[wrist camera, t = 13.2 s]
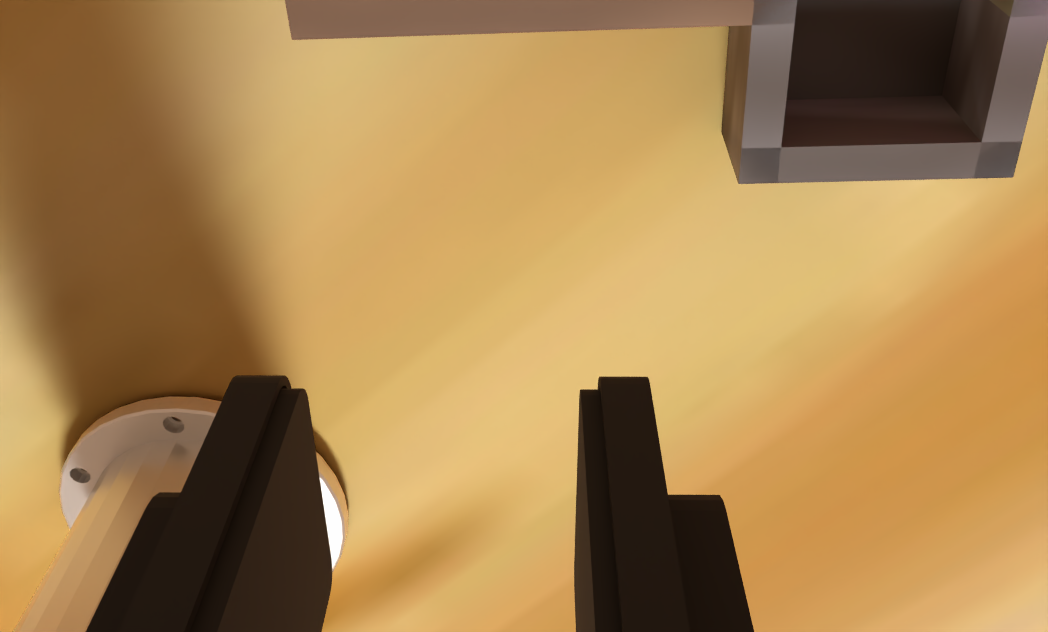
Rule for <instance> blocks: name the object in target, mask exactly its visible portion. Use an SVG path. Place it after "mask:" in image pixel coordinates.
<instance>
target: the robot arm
mask: <svg viewBox="0 0 1048 632" xmlns="http://www.w3.org/2000/svg"><path fill="white" fill-rule="evenodd" d="M59 495H60V502H61V508H62V512H63V514H64V517H65V519H66V522H67V524H68V527H69V529H70V531H69V533H68V534H67V536H66V538H65V540H64V541H63V543H62V545H61V547H60V549H59V550H58V552H57V554H56V556H55V558H54V559H53V561H52V563H51V565H50V566H49V568H48V570H47V572H46V574H45V575H44V577H43V579H42V581H41V582H40V584H39V586H38V588H37V590H36V591H35V593H34V595H33V597H32V599H31V600H30V602H29V604H28V606H27V607H26V609H25V611H24V613H23V615H22V616H21V618H20V620H19V622H18V623H17V625H16V627H15V629H14V631H13V632H321V631H322V626H323V622H324V618H325V614H326V609H327V605H328V601H329V596H330V591H331V584H332V572H333V571H334V569H335V567H336V565H337V563H338V561H339V559H340V557H341V555H342V551H343V547H344V544H345V540H346V536H347V528H348V510H347V505H346V500H345V495H344V493H343V491H342V488H341V486H340V484H339V482H338V480H337V477H336V475H335V474H334V473H333V471H332V470H331V469H330V467H329V466H328V465H327V463H326V462H325V460H324V459H323V458H322V456H320V455H319V454H318V453H317V452H316V449H315V443H314V436H313V429H312V422H311V415H310V409H309V402H308V397H307V393H306V391H305V389H291V385H290V382H289V380H288V378H287V377H286V376H238V375H237V376H235V377H233V379H232V381H231V382H230V384H229V386H228V389H227V391H226V393H225V395H224V397H223V400H222V401H217V400H211V399H205V398H199V397H170V396H169V397H161V398H154V399H146V400H141V401H138V402H135V403H131V404H128V405H125V406H122V407H119V408H117V409H115V410H113V411H111V412H110V413H108V414H106V415H104V416H103V417H101V418H99V419H98V420H96V421H95V422H94V423H93V424H92V425H91V426H90V427H89V428H88V429H87V430H86V431H85V432H84V433H82V435H81V437H80V438H79V440H78V441H77V443H76V444H75V446H74V447H73V449H72V450H71V452H70V453H69V455H68V457H67V459H66V461H65V463H64V465H63V468H62V471H61V478H60V486H59ZM574 587H575V615H576V632H754V629H753V625H752V621H751V616H750V612H749V608H748V603H747V599H746V595H745V590H744V586H743V582H742V577H741V573H740V569H739V564H738V560H737V556H736V551H735V547H734V543H733V538H732V534H731V530H730V525H729V521H728V517H727V512H726V509H725V505H724V502H723V499H722V498H721V497H720V495H668V493H667V487H666V481H665V475H664V469H663V462H662V456H661V450H660V444H659V438H658V431H657V425H656V419H655V413H654V407H653V401H652V394H651V388H650V383H649V379H648V377H599V380H598V390H580V398H579V429H578V462H577V495H576V528H575V562H574Z"/></svg>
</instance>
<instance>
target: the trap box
mask: <svg viewBox="0 0 1048 632" xmlns="http://www.w3.org/2000/svg"><path fill="white" fill-rule="evenodd" d="M285 3H286V8H287V14H288V20H289V26H290V31H291V37H292V40H301V39H333V38H365V37H396V36H428V35H460V34H491V33H523V32H555V31H587V30H618V29H650V28H682V27H713V26H729V37H728V51H727V65H726V79H725V93H724V107H723V120H722V135H723V138H724V141H725V144H726V147H727V150H728V153H729V156H730V159H731V163H732V166H733V169H734V172H735V175H736V178H737V181H738V184H755V183H797V182H839V181H881V180H924V179H966V178H1008V177H1013V176H1014V172H1015V168H1016V164H1017V160H1018V156H1019V152H1020V148H1021V144H1022V140H1023V136H1024V132H1025V128H1026V124H1027V120H1028V116H1029V112H1030V108H1031V104H1032V100H1033V96H1034V92H1035V89H1036V85H1037V81H1038V77H1039V73H1040V69H1041V65H1042V61H1043V57H1044V53H1045V49H1046V45H1047V41H1048V0H285Z"/></svg>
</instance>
